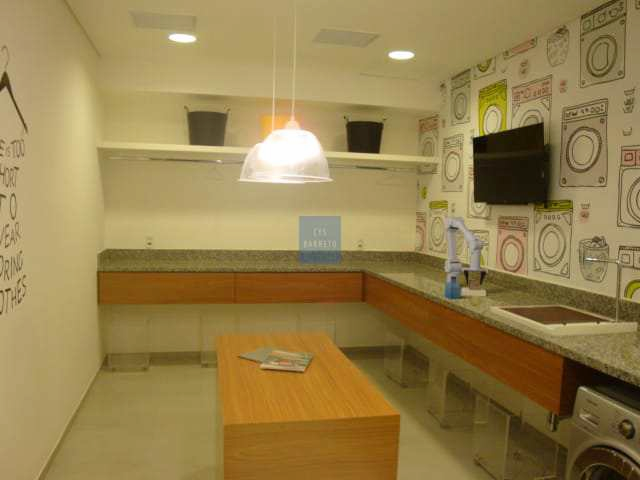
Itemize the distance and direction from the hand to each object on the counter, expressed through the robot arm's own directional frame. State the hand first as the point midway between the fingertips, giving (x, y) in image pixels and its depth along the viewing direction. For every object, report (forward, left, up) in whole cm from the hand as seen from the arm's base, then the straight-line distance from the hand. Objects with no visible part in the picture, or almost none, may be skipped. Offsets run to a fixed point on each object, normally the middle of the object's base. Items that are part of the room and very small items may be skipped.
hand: (474, 284), depth 304 cm
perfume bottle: (+18, -14, -6) cm, 24 cm away
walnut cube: (0, 0, -3) cm, 3 cm away
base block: (0, 0, -6) cm, 6 cm away
